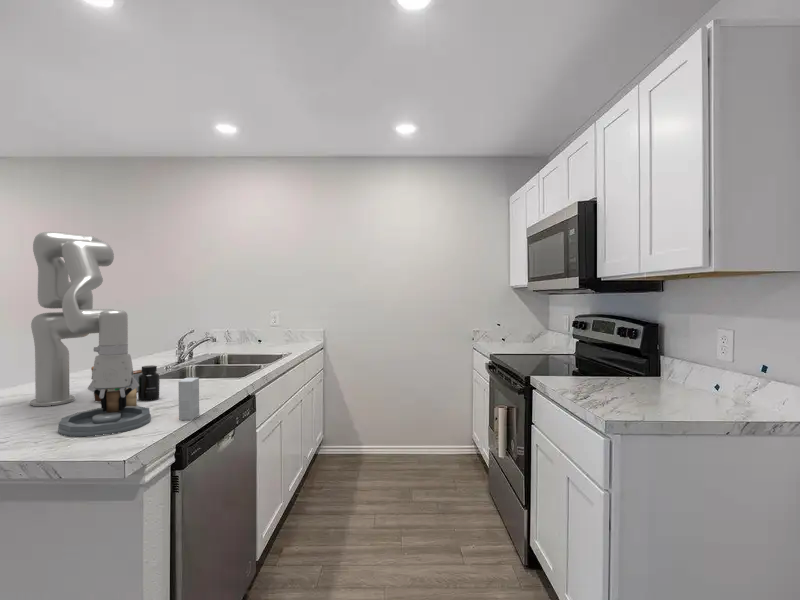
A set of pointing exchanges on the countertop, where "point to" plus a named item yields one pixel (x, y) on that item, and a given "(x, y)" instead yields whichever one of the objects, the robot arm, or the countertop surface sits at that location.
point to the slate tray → (92, 429)
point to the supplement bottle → (148, 384)
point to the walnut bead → (112, 401)
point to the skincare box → (188, 398)
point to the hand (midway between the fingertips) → (114, 409)
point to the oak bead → (132, 398)
